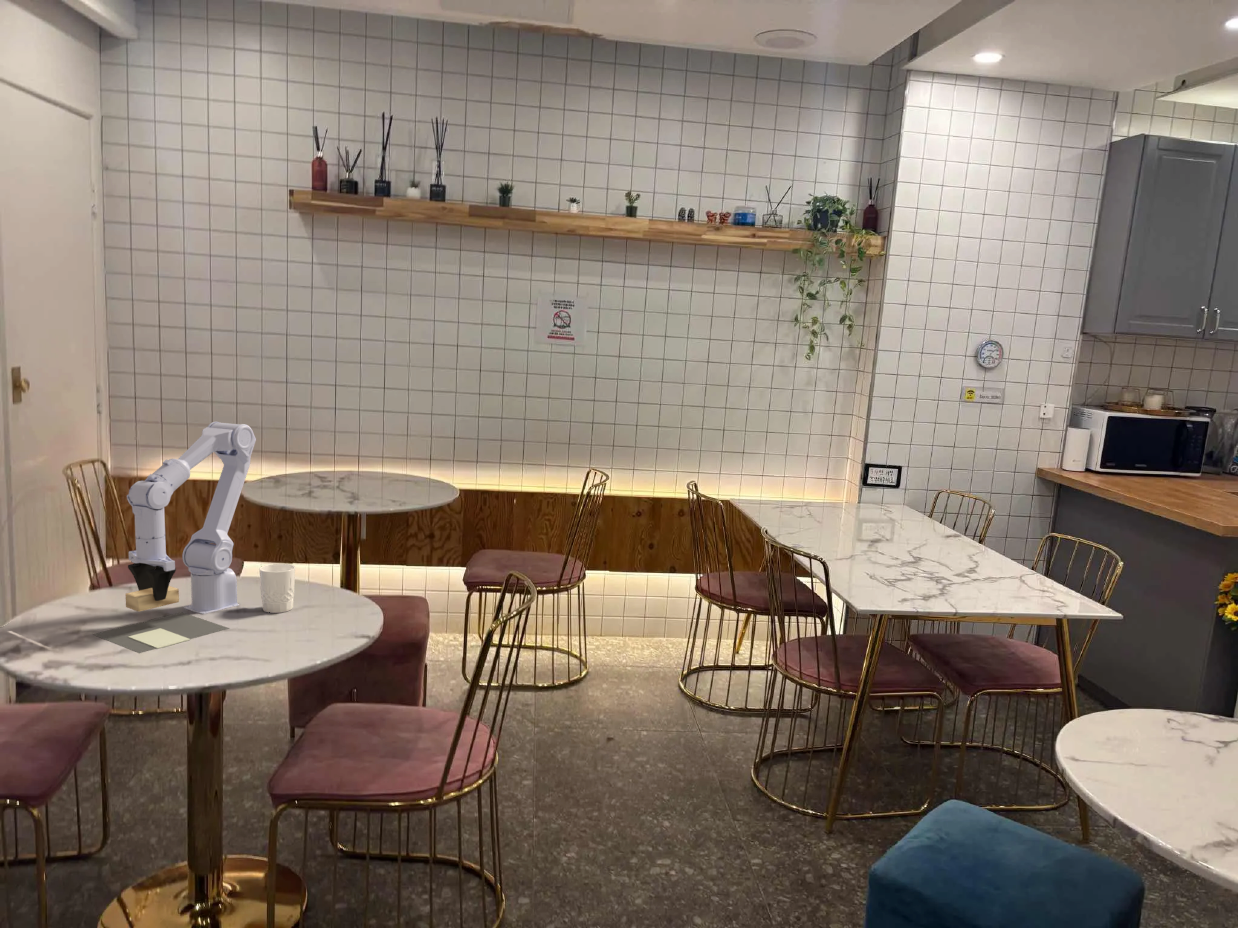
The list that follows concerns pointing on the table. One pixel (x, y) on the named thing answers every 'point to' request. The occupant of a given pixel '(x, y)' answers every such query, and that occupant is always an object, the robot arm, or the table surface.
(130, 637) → the rubber mat
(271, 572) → the white cup
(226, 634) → the table surface
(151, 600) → the oak block
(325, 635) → the table surface
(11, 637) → the table surface
